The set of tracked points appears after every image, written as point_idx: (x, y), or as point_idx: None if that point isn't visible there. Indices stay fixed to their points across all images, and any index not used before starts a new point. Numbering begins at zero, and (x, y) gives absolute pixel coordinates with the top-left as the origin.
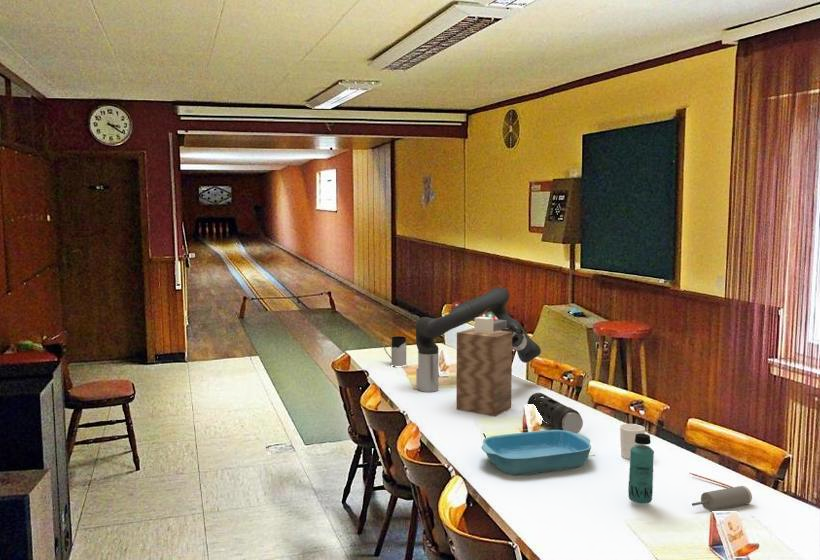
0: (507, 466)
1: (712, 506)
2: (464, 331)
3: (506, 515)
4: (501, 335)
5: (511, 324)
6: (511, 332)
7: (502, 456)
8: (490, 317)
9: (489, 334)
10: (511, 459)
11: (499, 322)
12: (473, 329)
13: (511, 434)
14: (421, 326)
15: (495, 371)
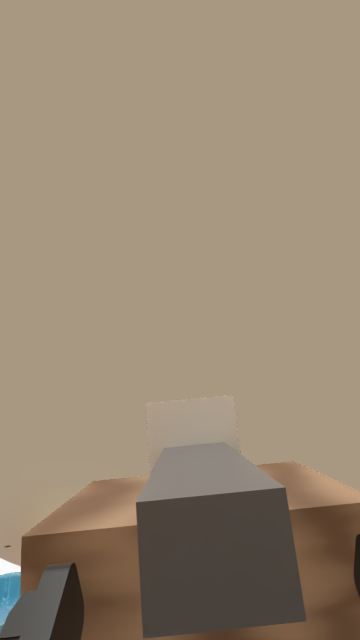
0: (8, 591)
1: None
2: (294, 470)
3: (7, 563)
4: (78, 493)
5: (50, 565)
6: (26, 535)
7: (17, 572)
8: (165, 401)
9: (143, 484)
10: (3, 576)
11: (155, 464)
12: (316, 488)
13: (2, 623)
14: None
15: None
